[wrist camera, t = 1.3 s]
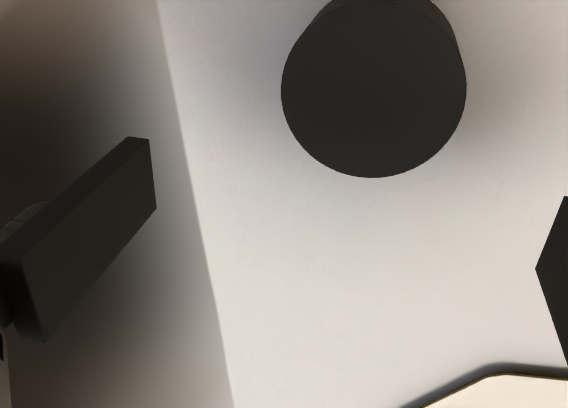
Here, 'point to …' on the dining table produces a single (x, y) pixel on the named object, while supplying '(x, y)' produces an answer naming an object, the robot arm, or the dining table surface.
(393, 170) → the puck
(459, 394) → the plate
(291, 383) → the dining table surface
